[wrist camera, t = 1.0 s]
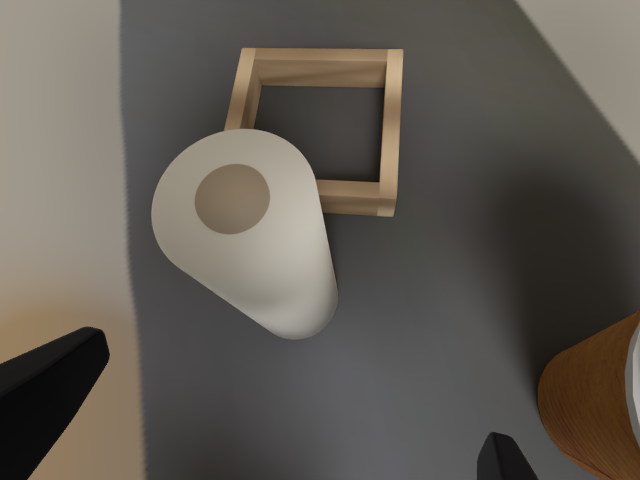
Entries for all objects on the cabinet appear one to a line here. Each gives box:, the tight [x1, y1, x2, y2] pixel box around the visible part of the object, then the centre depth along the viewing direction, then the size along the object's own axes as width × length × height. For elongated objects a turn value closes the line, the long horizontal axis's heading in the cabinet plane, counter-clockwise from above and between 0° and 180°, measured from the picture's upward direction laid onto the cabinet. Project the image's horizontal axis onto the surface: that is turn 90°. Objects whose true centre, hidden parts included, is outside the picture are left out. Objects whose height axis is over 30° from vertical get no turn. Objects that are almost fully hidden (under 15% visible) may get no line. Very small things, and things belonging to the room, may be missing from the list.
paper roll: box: [151, 129, 338, 340], centre depth 18 cm, size 5×5×13 cm
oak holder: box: [224, 48, 403, 217], centre depth 27 cm, size 11×11×2 cm
